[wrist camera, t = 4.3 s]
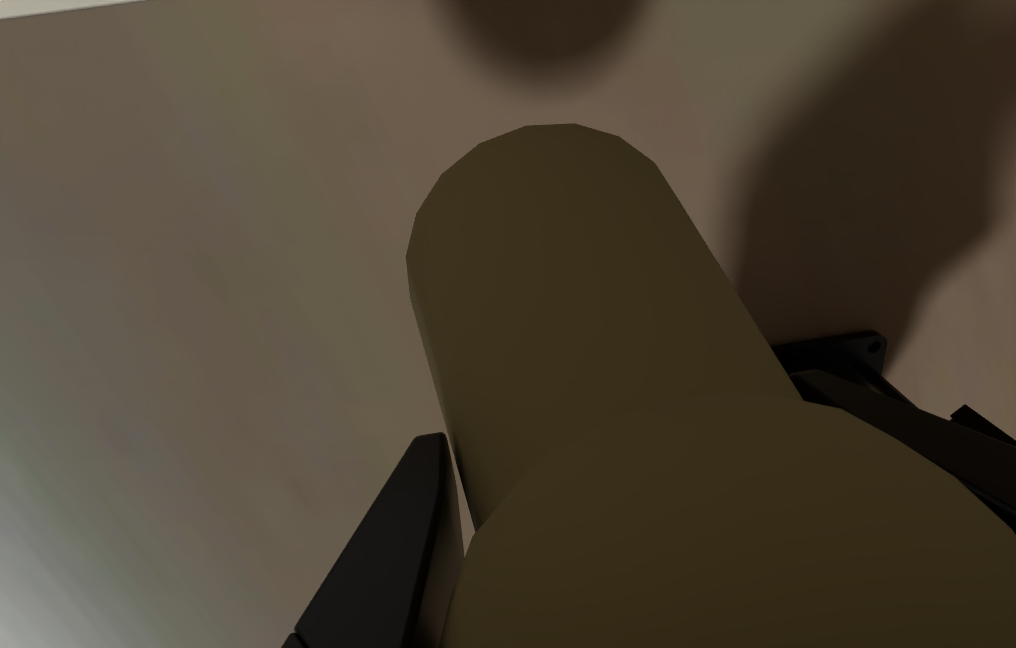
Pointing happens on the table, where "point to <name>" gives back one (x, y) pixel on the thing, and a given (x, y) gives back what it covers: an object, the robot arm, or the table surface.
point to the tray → (49, 6)
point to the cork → (663, 436)
